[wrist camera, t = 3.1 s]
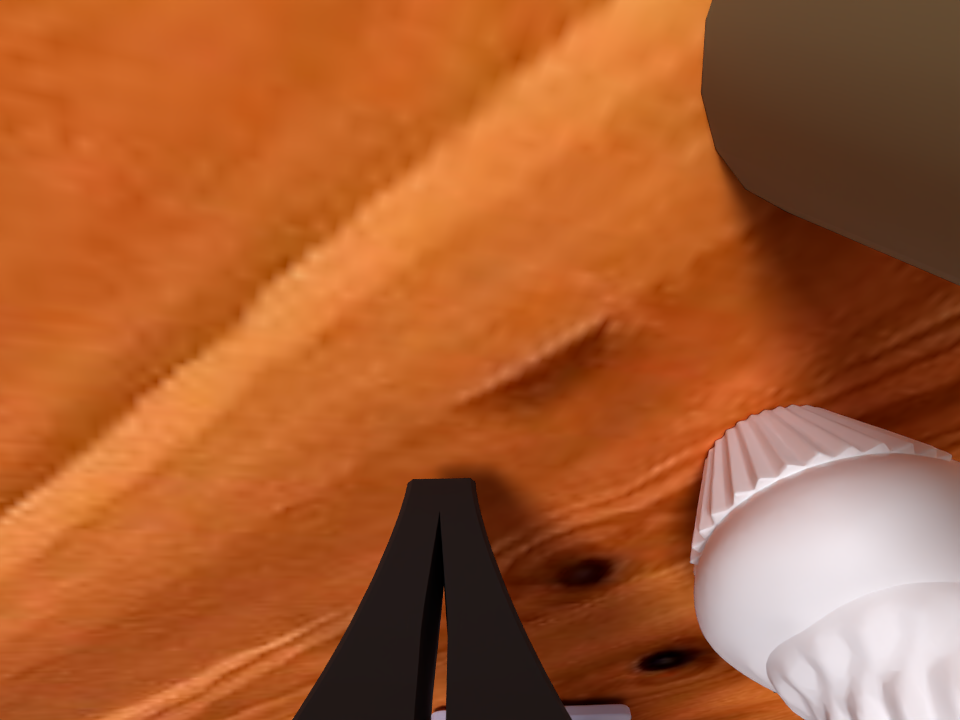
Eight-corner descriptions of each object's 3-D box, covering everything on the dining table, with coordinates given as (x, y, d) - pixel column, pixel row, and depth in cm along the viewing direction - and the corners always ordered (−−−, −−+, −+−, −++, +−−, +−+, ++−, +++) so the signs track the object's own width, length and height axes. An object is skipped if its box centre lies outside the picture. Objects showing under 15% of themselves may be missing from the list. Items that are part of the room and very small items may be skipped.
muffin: (597, 496, 14) (694, 864, 8) (763, 310, 10) (1121, 709, 5) (776, 549, 15) (960, 883, 10) (968, 403, 12) (1408, 778, 7)
